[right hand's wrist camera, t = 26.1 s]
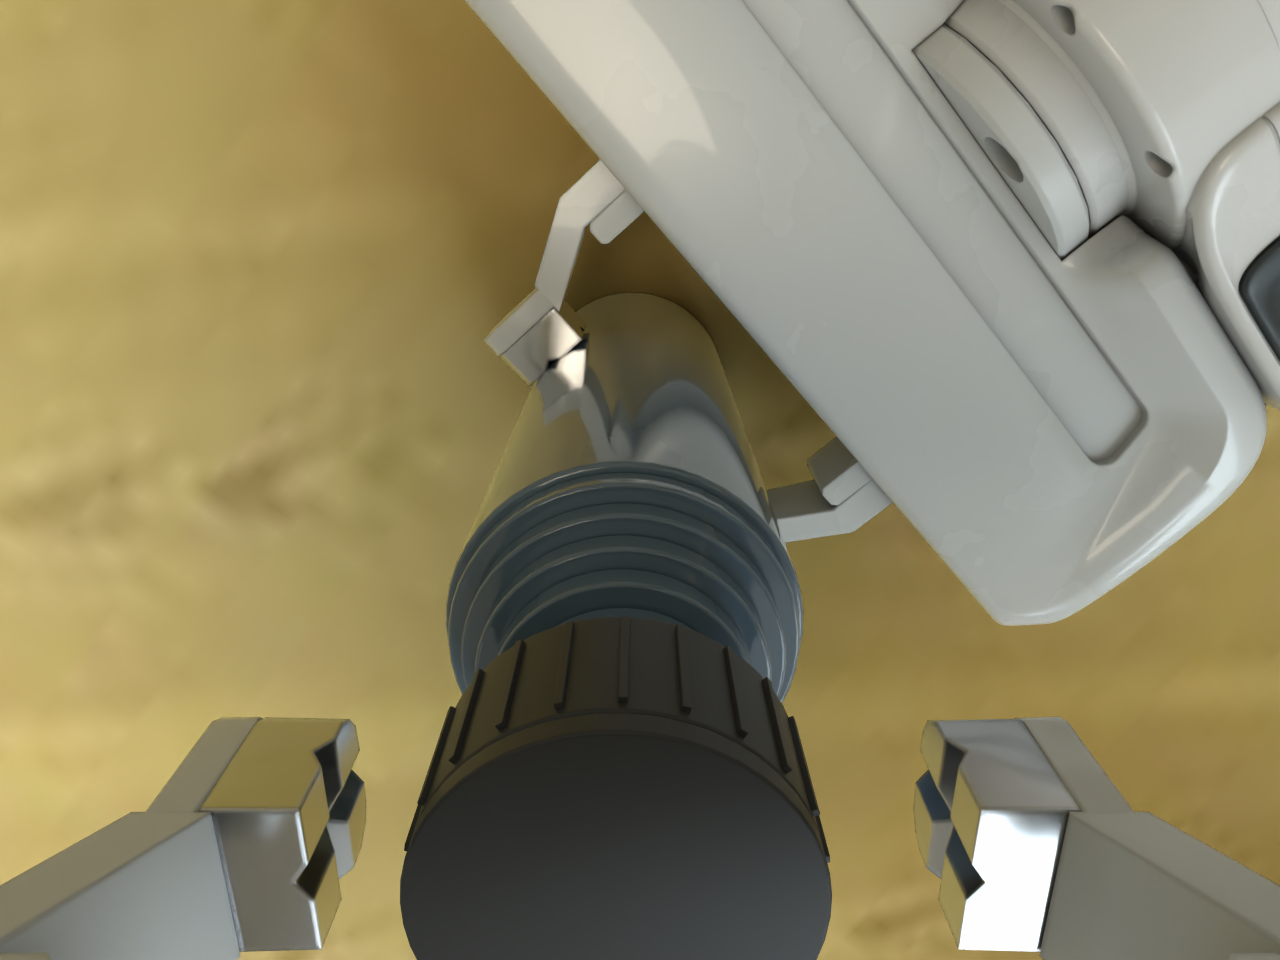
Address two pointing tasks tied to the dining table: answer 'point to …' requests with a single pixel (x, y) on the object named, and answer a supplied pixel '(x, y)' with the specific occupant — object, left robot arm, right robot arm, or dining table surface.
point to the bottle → (629, 503)
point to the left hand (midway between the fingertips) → (604, 459)
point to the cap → (617, 808)
